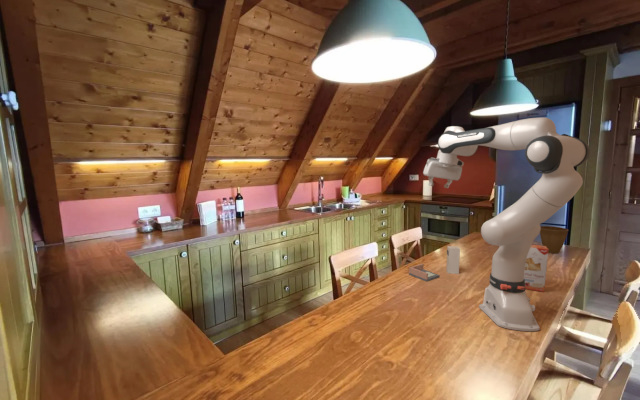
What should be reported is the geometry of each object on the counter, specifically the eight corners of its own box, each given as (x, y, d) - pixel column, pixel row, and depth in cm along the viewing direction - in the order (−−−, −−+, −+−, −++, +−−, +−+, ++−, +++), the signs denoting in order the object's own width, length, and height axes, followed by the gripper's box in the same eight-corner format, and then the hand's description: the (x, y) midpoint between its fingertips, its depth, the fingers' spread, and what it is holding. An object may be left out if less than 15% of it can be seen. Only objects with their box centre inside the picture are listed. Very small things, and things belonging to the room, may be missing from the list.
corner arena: (439, 277, 156) (439, 269, 156) (426, 281, 151) (426, 274, 150) (421, 270, 166) (422, 263, 165) (408, 274, 160) (409, 267, 160)
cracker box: (508, 287, 143) (512, 244, 141) (507, 282, 149) (511, 241, 146) (544, 292, 137) (549, 248, 134) (542, 287, 142) (546, 245, 139)
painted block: (458, 274, 160) (460, 248, 158) (447, 273, 161) (448, 248, 159) (456, 271, 164) (458, 246, 162) (445, 270, 166) (447, 246, 164)
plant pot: (571, 254, 191) (574, 229, 189) (553, 256, 188) (555, 231, 186) (549, 247, 205) (551, 225, 203) (531, 249, 202) (533, 226, 200)
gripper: (432, 157, 140) (425, 186, 143) (466, 163, 147) (458, 190, 150) (424, 155, 146) (417, 183, 149) (457, 161, 152) (450, 187, 156)
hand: (438, 186), depth 149 cm, fingers open, 8 cm apart
